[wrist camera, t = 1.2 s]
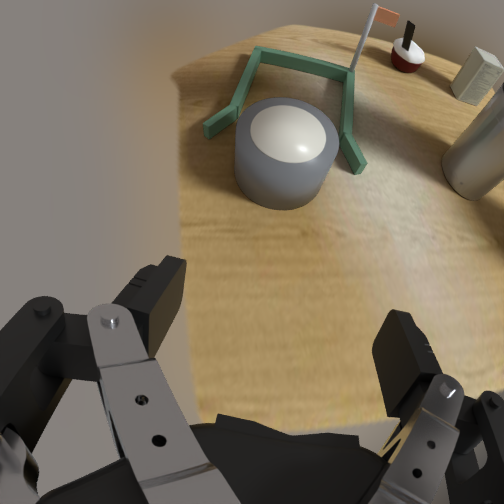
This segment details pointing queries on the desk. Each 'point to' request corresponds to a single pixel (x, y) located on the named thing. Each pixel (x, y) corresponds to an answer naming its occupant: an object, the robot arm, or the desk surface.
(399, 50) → the cocoa
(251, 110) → the grey cylinder
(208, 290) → the desk surface
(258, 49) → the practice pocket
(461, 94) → the skincare box
